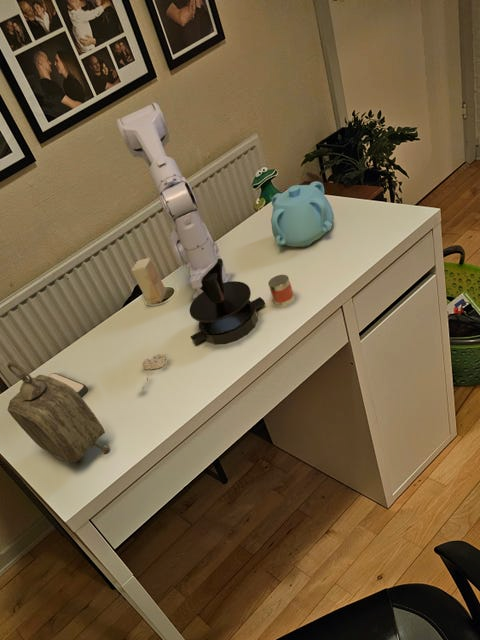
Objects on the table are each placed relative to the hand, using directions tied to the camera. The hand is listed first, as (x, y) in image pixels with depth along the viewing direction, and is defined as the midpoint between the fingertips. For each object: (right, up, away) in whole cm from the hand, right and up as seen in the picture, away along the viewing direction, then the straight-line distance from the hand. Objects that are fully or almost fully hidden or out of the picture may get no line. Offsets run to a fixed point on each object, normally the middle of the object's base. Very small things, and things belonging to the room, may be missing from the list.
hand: (218, 296), depth 122 cm
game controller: (-16, -18, +3) cm, 24 cm away
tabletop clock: (-28, -35, -9) cm, 46 cm away
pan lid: (0, -1, +1) cm, 1 cm away
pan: (+3, -6, +6) cm, 9 cm away
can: (+15, +1, +6) cm, 17 cm away
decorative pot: (+23, +22, +24) cm, 40 cm away
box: (-18, +6, +27) cm, 33 cm away
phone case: (-39, -21, +10) cm, 46 cm away
